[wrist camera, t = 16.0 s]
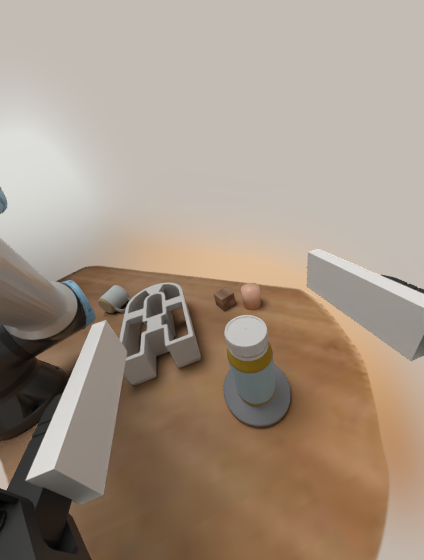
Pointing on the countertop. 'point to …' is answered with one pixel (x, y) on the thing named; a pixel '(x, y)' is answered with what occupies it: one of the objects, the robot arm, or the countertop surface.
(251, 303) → the pink rounded block
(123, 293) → the ceramic mug
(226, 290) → the walnut block
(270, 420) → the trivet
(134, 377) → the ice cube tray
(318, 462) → the countertop surface
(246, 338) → the bottle
